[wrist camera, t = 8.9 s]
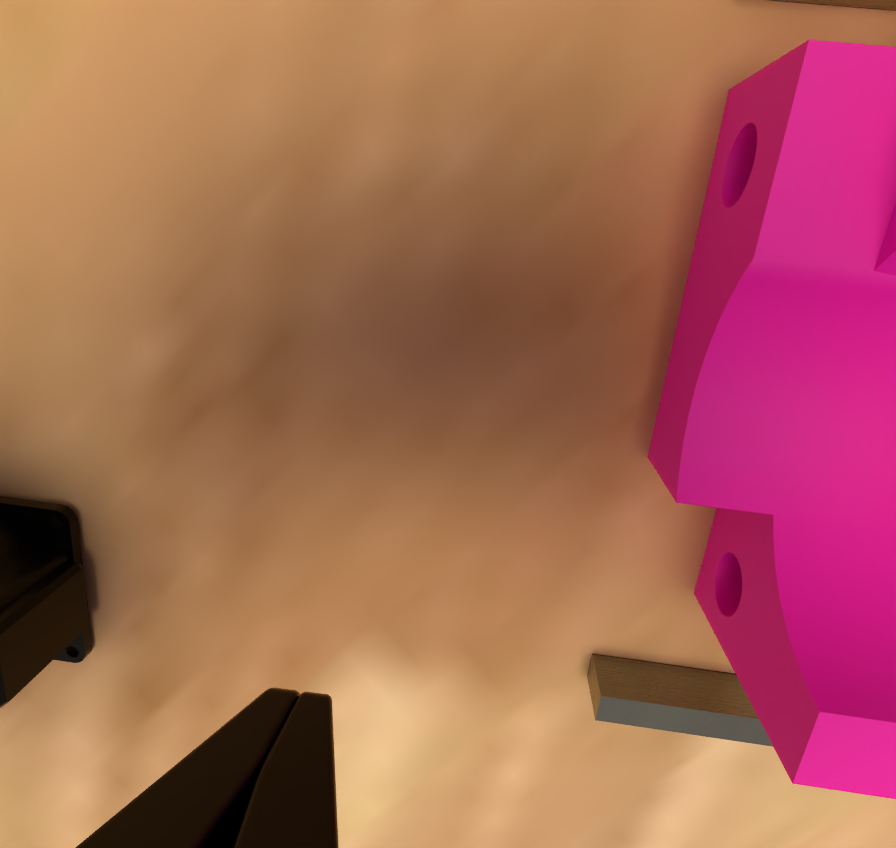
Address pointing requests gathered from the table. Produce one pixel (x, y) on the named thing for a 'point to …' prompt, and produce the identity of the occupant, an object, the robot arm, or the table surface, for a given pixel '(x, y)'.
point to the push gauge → (679, 688)
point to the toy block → (798, 407)
